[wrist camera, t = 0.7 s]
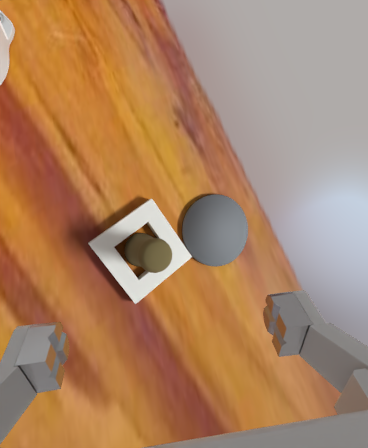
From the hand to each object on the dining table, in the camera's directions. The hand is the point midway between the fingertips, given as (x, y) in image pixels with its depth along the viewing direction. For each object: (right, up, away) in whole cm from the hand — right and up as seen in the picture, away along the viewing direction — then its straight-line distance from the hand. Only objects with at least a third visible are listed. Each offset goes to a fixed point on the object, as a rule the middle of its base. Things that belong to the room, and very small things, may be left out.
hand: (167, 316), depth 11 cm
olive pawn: (-7, -1, +40) cm, 40 cm away
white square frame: (-7, -1, +40) cm, 40 cm away
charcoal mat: (+7, +2, +45) cm, 46 cm away
